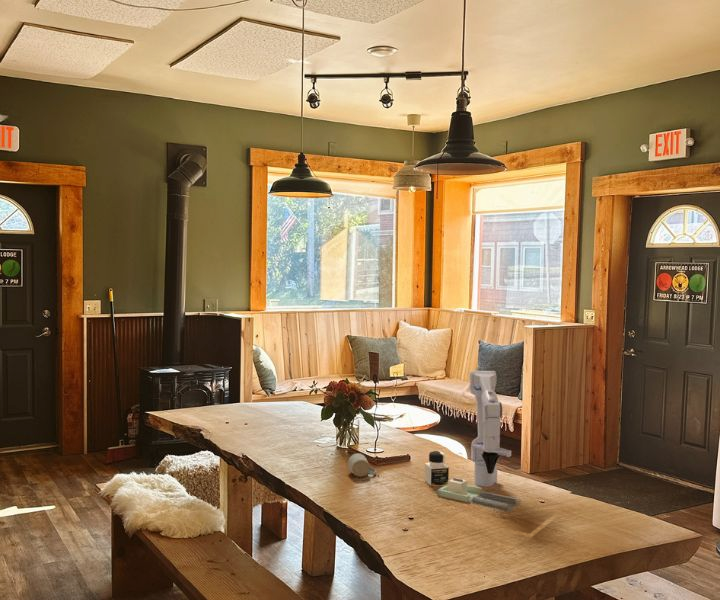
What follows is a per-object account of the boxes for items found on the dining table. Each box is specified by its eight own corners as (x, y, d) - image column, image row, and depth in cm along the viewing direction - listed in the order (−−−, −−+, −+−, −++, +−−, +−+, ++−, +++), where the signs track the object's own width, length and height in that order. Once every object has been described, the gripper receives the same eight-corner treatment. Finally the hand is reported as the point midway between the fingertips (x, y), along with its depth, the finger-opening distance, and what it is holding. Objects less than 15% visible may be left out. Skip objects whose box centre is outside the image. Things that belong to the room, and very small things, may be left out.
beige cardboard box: (454, 491, 274) (454, 476, 274) (466, 493, 272) (467, 478, 271) (448, 494, 270) (448, 479, 270) (460, 497, 268) (461, 482, 267)
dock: (482, 495, 273) (482, 489, 272) (521, 504, 264) (521, 497, 264) (467, 504, 263) (467, 498, 262) (507, 514, 254) (507, 506, 254)
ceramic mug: (352, 478, 290) (352, 459, 290) (347, 472, 298) (348, 453, 298) (378, 477, 293) (379, 458, 292) (373, 471, 301) (374, 452, 300)
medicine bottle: (430, 486, 282) (431, 455, 281) (424, 480, 289) (425, 450, 288) (448, 485, 284) (449, 454, 283) (441, 479, 291) (442, 449, 290)
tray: (452, 489, 279) (452, 481, 279) (482, 495, 273) (482, 487, 272) (437, 498, 269) (437, 489, 269) (467, 504, 263) (467, 496, 262)
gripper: (468, 434, 269) (467, 471, 270) (506, 441, 261) (504, 479, 262) (476, 430, 275) (475, 467, 276) (514, 437, 267) (512, 474, 268)
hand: (490, 473), depth 269 cm, fingers closed
